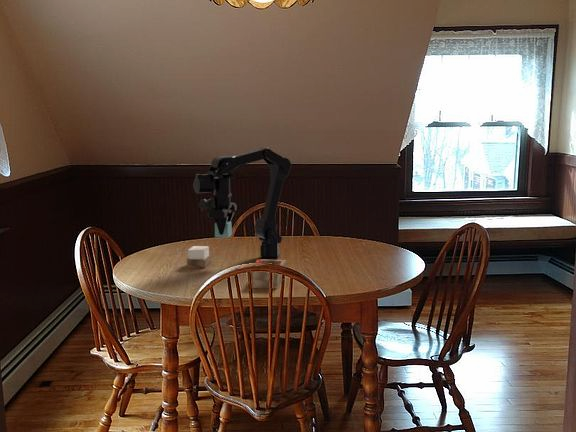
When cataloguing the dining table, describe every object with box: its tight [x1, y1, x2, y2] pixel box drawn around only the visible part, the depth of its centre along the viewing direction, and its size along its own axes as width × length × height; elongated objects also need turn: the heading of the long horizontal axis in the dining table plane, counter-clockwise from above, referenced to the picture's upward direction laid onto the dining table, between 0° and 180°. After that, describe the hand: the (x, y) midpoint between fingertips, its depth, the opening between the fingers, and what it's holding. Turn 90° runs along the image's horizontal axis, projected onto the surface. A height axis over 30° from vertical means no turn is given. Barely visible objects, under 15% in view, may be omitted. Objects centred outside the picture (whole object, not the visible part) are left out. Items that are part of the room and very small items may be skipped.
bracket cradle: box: [251, 258, 287, 290], centre depth 202 cm, size 9×16×6 cm, turn 170°
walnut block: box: [186, 254, 212, 269], centre depth 224 cm, size 7×7×4 cm
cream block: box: [187, 245, 210, 259], centre depth 223 cm, size 6×6×4 cm
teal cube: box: [214, 220, 233, 238], centre depth 221 cm, size 5×5×5 cm
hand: (223, 233), depth 222 cm, fingers closed on teal cube, 5 cm apart
